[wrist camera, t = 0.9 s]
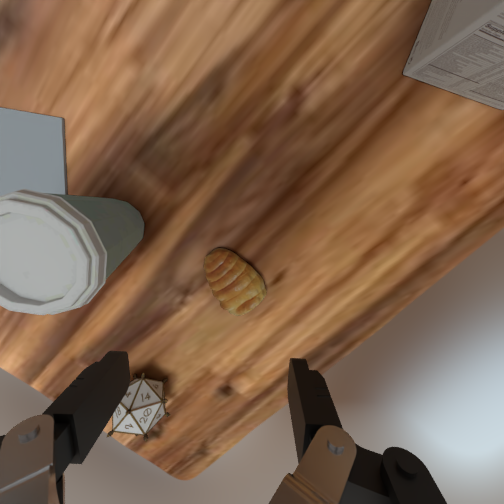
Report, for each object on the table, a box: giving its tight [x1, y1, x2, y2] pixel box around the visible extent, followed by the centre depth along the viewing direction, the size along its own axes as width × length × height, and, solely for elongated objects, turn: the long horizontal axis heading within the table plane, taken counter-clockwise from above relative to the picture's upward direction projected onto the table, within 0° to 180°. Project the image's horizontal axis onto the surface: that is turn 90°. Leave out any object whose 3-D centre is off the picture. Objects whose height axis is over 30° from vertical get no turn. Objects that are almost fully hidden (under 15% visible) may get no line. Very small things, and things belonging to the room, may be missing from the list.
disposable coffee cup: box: [0, 189, 144, 315], centre depth 26 cm, size 11×11×15 cm
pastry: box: [204, 248, 267, 316], centre depth 33 cm, size 9×7×4 cm
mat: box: [0, 108, 68, 196], centre depth 32 cm, size 24×16×1 cm, turn 171°
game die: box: [107, 372, 170, 442], centre depth 36 cm, size 9×8×10 cm
